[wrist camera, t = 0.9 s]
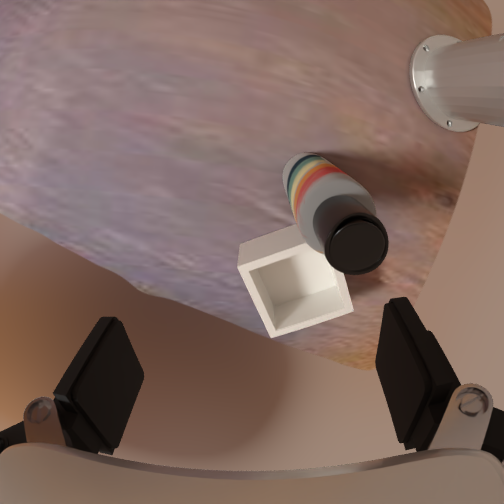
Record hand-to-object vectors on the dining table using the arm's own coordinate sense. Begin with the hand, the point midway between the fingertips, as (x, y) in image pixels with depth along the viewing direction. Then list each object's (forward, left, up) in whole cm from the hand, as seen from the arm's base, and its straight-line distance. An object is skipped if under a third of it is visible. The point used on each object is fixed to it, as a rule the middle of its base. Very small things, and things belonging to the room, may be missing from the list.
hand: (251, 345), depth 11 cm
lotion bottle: (-5, +2, -27) cm, 28 cm away
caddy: (0, +12, -27) cm, 29 cm away
